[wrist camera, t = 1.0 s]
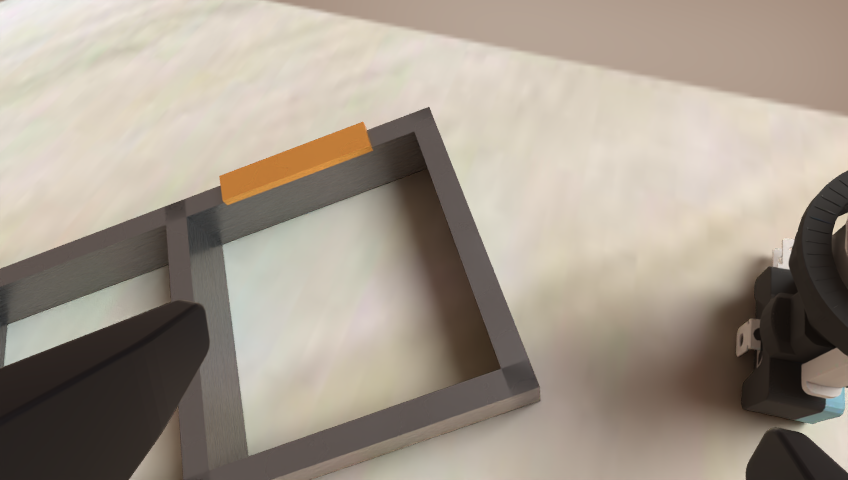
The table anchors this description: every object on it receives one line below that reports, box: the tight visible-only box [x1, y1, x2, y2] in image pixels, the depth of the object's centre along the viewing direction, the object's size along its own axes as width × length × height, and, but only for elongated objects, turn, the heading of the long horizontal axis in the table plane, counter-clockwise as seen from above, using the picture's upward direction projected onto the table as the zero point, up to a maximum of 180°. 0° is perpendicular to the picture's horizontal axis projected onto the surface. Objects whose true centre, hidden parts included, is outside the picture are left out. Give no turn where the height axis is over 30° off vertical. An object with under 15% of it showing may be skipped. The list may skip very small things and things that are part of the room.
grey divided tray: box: [0, 107, 540, 480], centre depth 23 cm, size 13×25×3 cm, turn 106°
